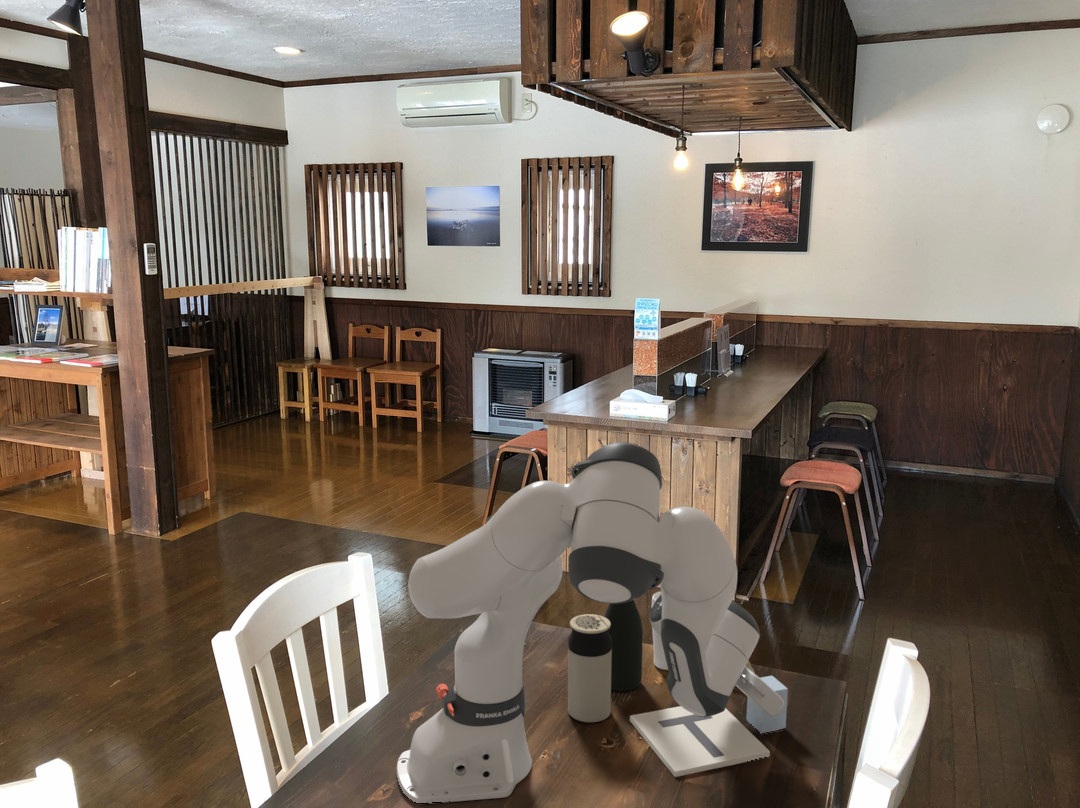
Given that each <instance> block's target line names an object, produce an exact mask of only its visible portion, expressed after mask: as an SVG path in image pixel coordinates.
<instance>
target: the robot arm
mask: <svg viewBox="0 0 1080 808" xmlns="http://www.w3.org/2000/svg"><path fill="white" fill-rule="evenodd" d="M571 476H572V481H570V482H567V483H560V482H558V481H557V482H556V481H553V480H539V481H534V482H532V483H530V484H528V485H526V486H524V487H522V488H520V489H519V490H518V491H517V492H515V493H514V494H512V495H510V497H509V498H508V499H507V500H506V501H505V502H504V503H502V505H501V506H500V507H499V508H498V510H497V511H496V512H495V513H494V514H493V515H492V516H491V518H490V519H488V521H486V523H485V524H484V525H482V526H480V527H479V528H477V529H475V530H473V531H471V532H469V533H467V534H465V535H464V536H462V537H461V538H459V539H457V540H455V541H454V542H452V543H450V544H449V545H446V546H445V547H443V548H441V549H437V550H436V551H434V552H431V553H428V554H426V555H424V556H421V557H418V558H417V559H416V561H415V562H414V564H413V566H412V567H411V570H410V572H409V576H408V582H407V583H408V584H407V585H408V593H409V597H410V600H411V602H412V604H413V606H414V607H415V609H416V610H417V611H418V612H419V613H420V614H421V615H422V616H424V617H425V618H427V619H460V618H464V617H469V616H474V615H479V617H477V619H475V621H474V622H473V623H472V624H471V625H470V626H468V627H467V628H466V629H465V630H464V631H463V632H462V633H461V634H460V635H459V637H458V639H457V641H456V643H455V647H454V652H453V654H454V684H453V686H452V687H451V688H450V689H449V688H448V685H447V684H446V683H439V684H438V685H437V686H436V688H435V692H436V694H437V697H438V699H440V700H442V701H443V703H442V708H441V709H440V710H439V711H437V712H436V713H435V714H434V715H433V716H431V717H429V719H428V720H426V721H425V722H424V723H422V724H421V725H420V726H418V727H417V728H416V730H415V732H414V733H413V736H412V738H411V743H410V749H408V750H405V751H403V752H401V754H400V756H398V760H397V763H396V771H397V772H396V777H397V778H398V779H397V782H399V783H398V786H399V785H400V786H399V788H400V787H401V788H400V789H402V790H401V792H402V791H403V792H402V794H405V795H406V796H407V797H408V798H409V799H408V798H407V797H406V796H405V795H404V796H405V797H406V798H407V799H408V800H410V799H411V800H412V801H413V802H412V801H411V800H410V801H411V802H412V803H414V802H416V803H427V802H428V803H429V804H433V803H432V802H442V803H451V802H452V803H455V802H464V801H476V800H490V799H501V798H507V797H509V796H511V794H512V793H513V791H514V789H515V788H516V786H517V784H518V783H520V782H521V781H522V780H523V779H525V778H526V777H527V776H528V775H529V773H530V771H531V769H532V766H533V759H532V756H531V754H530V750H529V747H528V746H529V745H528V742H527V738H526V736H527V735H526V732H525V725H524V724H525V722H524V718H525V710H526V691H525V685H524V683H523V680H522V679H523V676H522V675H523V657H524V656H523V655H524V654H523V653H524V645H525V641H526V637H527V635H528V634H527V633H528V631H529V628H530V626H531V624H532V622H533V620H534V619H535V616H536V614H537V613H538V611H539V610H540V608H541V607H542V606H543V604H544V603H545V602H546V601H547V600H548V599H549V598H550V597H551V596H552V595H553V594H554V593H555V592H556V591H557V590H558V588H559V586H560V584H561V581H562V577H563V562H562V558H561V556H563V554H564V553H565V551H566V550H567V549H570V548H571V551H570V553H569V555H568V559H567V561H568V562H567V564H568V565H567V566H568V567H567V569H568V577H569V582H570V584H571V586H572V587H573V588H574V589H575V591H577V592H578V593H579V594H580V595H582V596H583V597H586V598H587V599H589V600H592V601H595V602H599V603H603V604H608V605H609V604H621V603H626V602H629V601H632V600H634V601H635V600H636V599H638V598H640V597H643V596H644V595H645V594H646V593H647V592H648V591H649V590H650V591H651V590H652V589H656V588H657V587H659V586H660V587H659V588H660V592H661V595H660V596H659V597H658V599H657V600H656V602H655V603H654V605H653V607H652V606H651V609H650V610H649V615H648V619H649V622H650V625H651V627H652V626H653V628H654V629H655V630H656V631H657V633H658V634H659V635H660V636H661V640H662V645H663V649H664V653H665V658H666V662H667V666H668V670H667V671H668V674H667V676H666V677H665V678H666V679H665V680H666V685H667V688H668V691H669V694H670V696H671V698H672V699H673V700H674V701H675V702H676V704H678V705H679V706H681V707H683V708H684V709H685V710H687V711H689V712H690V713H693V714H695V715H697V716H700V717H709V716H713V715H716V714H719V713H721V712H723V711H724V710H725V708H726V707H727V706H728V703H729V700H730V699H731V695H732V693H733V691H734V689H735V687H737V689H739V690H740V691H741V692H742V693H743V694H744V695H745V696H748V697H749V698H750V699H751V700H752V701H753V702H754V703H755V704H756V705H758V706H759V707H760V708H761V709H762V710H763V711H764V712H765V713H766V714H767V715H769V716H771V717H773V716H774V715H775V714H776V715H777V716H780V715H781V714H782V712H783V711H784V708H783V707H782V706H783V705H784V700H783V699H782V698H781V697H780V696H779V695H778V694H777V693H776V692H775V691H774V690H773V689H771V688H770V687H769V686H768V685H767V684H766V683H765V682H764V681H763V680H762V679H760V678H761V677H760V676H758V675H757V674H755V673H754V672H755V671H754V672H752V671H751V670H750V669H749V668H748V667H747V666H746V664H747V662H748V660H749V659H750V658H751V656H752V653H754V650H755V648H756V646H757V644H758V642H759V639H760V638H761V633H760V629H759V625H758V623H757V622H756V619H755V618H754V616H753V615H752V614H751V613H750V612H749V611H748V610H746V609H745V608H744V607H743V606H742V605H740V604H739V603H737V602H735V601H734V597H735V595H736V591H737V586H738V585H737V584H738V568H737V562H736V559H735V557H734V554H733V551H732V549H731V546H730V544H729V542H728V540H727V538H726V536H725V535H724V533H723V531H722V530H721V528H720V526H718V524H717V523H716V522H715V521H714V519H712V517H710V515H709V514H707V513H706V512H705V511H703V510H701V509H698V508H696V507H691V506H678V507H674V508H670V509H669V510H667V511H666V512H662V511H661V512H660V508H661V507H660V506H661V492H660V491H661V489H662V487H663V478H662V477H663V476H662V469H661V465H660V461H659V459H658V458H657V456H656V455H655V454H654V453H652V452H651V451H649V450H648V449H646V448H645V447H643V446H641V445H639V444H635V443H633V442H632V443H631V442H626V441H624V442H623V441H621V442H620V441H619V442H613V443H609V444H607V445H604V446H602V447H600V448H599V449H596V450H595V451H592V453H591V454H589V456H588V457H587V458H586V459H585V460H584V461H580V462H577V463H575V465H573V467H572V470H571ZM726 709H727V708H726ZM449 801H450V802H449ZM416 803H415V804H416Z"/></svg>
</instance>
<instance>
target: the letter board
mask: <svg viewBox="0 0 1080 808" xmlns="http://www.w3.org/2000/svg"><path fill="white" fill-rule="evenodd" d="M629 722H630V723H631V724H632V726H633V727H634V728H635V729H636V730H637V732H638V734H640V736H641V737H642V738H643V740H645V742H646V743H647V744H648V746H649V747H650V748H651V749H652V751H653V752H654V754H656V756H657V757H658V758H659V759H660V760H661V762H662V763H663V764H664V766H665V767H666V768H667V769H668V771H669V772H670V774H672V775H673V777H674V778H677V777H682V776H687V775H692V774H695V773H701V772H705V771H710V770H715V769H719V768H724V767H729V766H734V765H737V764H738V765H739V764H742V763H748V762H751V760H753V761H756V760H755V759H757V760H760V759H759V758H762V759H765V758H764V757H767V758H770V757H771V751H770V750H769V749H768V748H767V747H766V746H765V745H764V744H763V743H762V742H761V741H760V740H759V739H758V738H757V737H756V736H755V735H754V734H753V733H752V732H751V731H750V730H748V728H747V727H746V726H745V725H744V724H742V723H741V722H740V720H738V718H736V716H734V715H733V714H732V713H731V712H730V711H729V710H728V709H727V708H725V710H724V711H723V712H721V713H719V714H716V715H713V716H709V717H700V716H697V715H695V714H693V713H690V712H689V711H687V710H685V709H684V708H683V707H681V706H680V705H679V706H675V707H674V706H673V707H669V708H664V709H659V710H653V711H649V712H648V711H646V712H643V713H641V712H640V713H637V714H632V715H629ZM769 756H770V757H769ZM747 761H748V762H747Z"/></svg>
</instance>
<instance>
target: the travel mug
mask: <svg viewBox="0 0 1080 808" xmlns="http://www.w3.org/2000/svg"><path fill="white" fill-rule="evenodd" d="M569 626H570V627H571V632H570V634H569V636H568V643H567V644H568V646H567V647H568V650H567V655H568V657H567V659H568V661H567V662H568V663H567V664H568V665H567V666H568V667H567V671H568V672H567V679H568V680H567V712H568V715H570V717H572V718H573V719H575V720H576V721H580V722H584V723H598V722H601V721H604V720H606V719H608V717H610V715H611V711H612V709H611V708H612V705H611V704H612V690H611V657H612V638H611V636H610V634H609V633H608V631H609V628H610V626H611V623H610V621H609V620H608V619H607V618H605V617H604V616H603V615H601V614H599V615H598V614H593V613H591V614H590V613H589V614H588V613H584V614H579V615H576V616H574V617H572V619H570V621H569Z"/></svg>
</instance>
